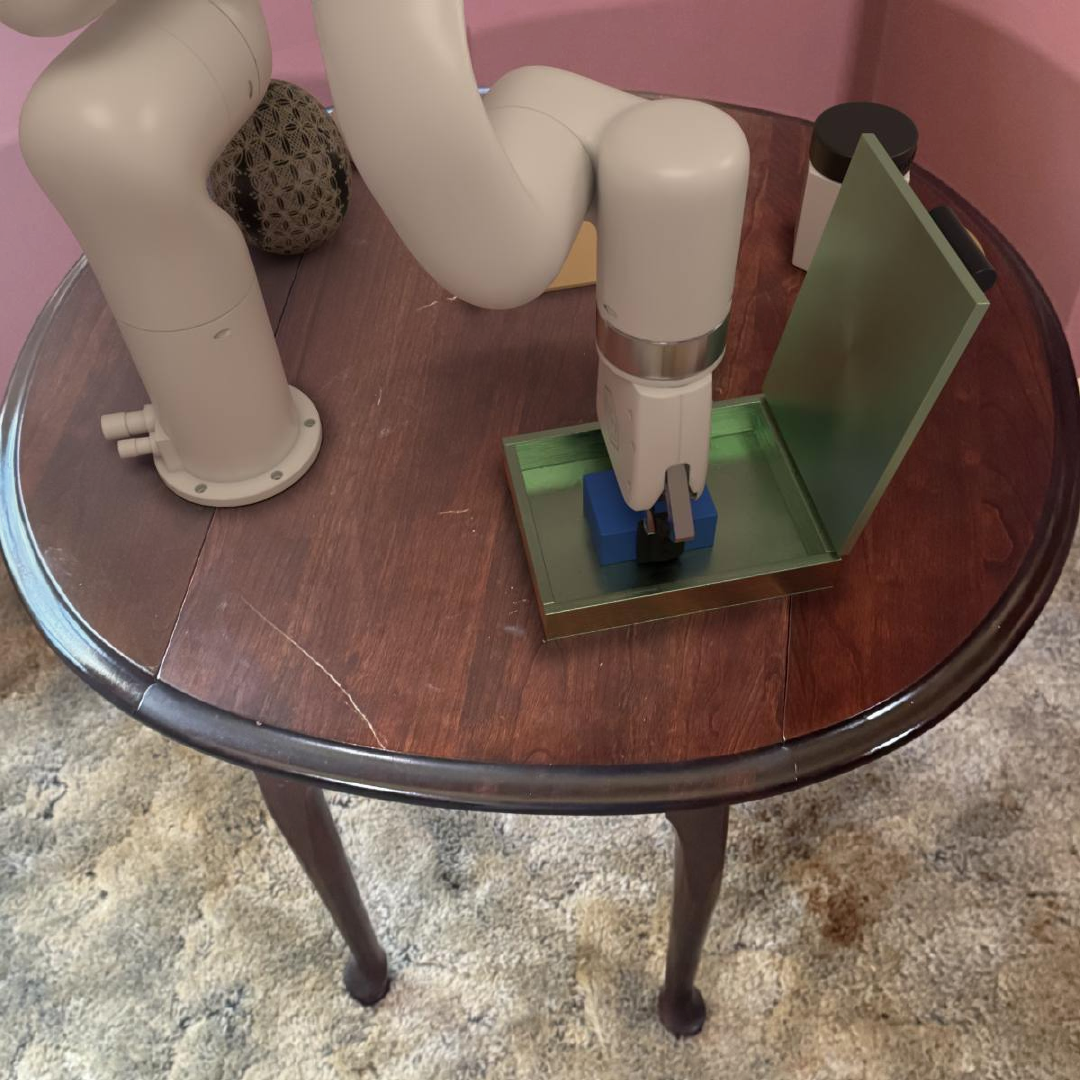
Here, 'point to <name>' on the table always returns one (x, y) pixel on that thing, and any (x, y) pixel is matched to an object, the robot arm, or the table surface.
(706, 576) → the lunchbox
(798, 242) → the jar
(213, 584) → the table surface
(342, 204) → the decorative egg
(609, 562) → the block
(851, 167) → the lunchbox lid
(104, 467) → the table surface
